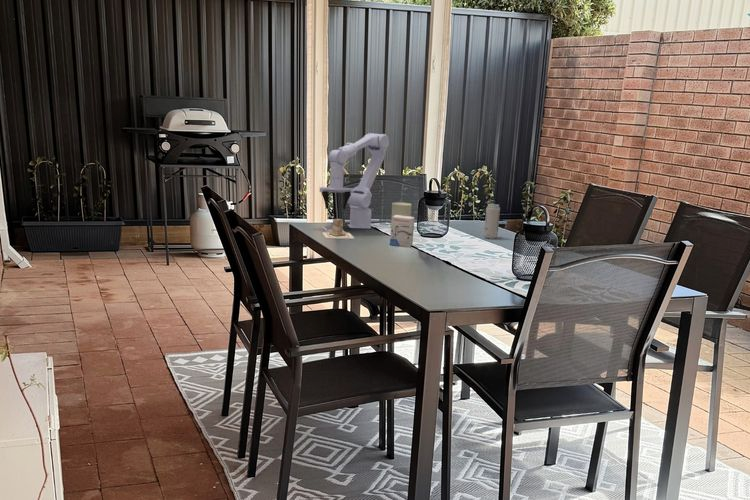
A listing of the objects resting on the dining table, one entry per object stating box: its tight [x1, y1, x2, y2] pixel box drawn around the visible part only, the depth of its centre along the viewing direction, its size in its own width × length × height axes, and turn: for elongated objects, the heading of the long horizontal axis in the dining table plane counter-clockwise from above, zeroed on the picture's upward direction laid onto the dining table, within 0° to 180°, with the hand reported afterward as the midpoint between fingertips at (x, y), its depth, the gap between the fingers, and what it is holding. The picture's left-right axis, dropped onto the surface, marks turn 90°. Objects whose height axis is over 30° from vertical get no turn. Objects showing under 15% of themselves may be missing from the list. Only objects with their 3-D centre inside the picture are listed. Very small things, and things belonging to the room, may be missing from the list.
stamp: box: [329, 218, 347, 237], centre depth 283 cm, size 5×5×7 cm
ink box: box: [389, 215, 415, 248], centre depth 271 cm, size 9×5×12 cm, turn 73°
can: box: [390, 201, 413, 229], centre depth 311 cm, size 9×9×12 cm
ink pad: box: [322, 226, 344, 232], centre depth 296 cm, size 8×8×1 cm
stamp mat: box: [321, 231, 356, 240], centre depth 284 cm, size 12×12×1 cm
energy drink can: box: [483, 203, 501, 240], centre depth 299 cm, size 6×6×15 cm
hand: (335, 208), depth 296 cm, fingers open, 7 cm apart
